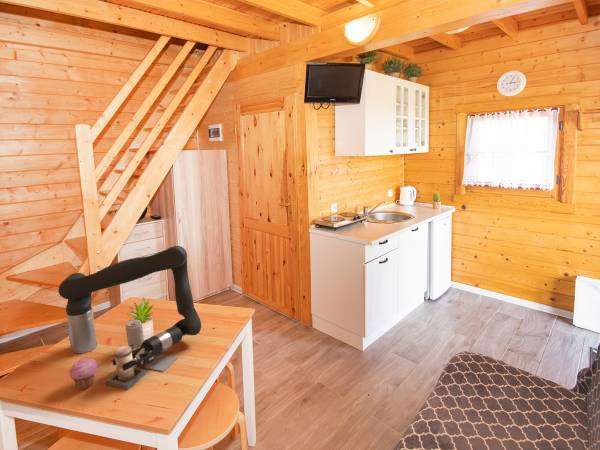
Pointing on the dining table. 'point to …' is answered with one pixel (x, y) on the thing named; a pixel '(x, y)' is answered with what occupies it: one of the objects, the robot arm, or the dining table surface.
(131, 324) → the beverage can
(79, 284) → the robot arm
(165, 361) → the mat
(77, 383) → the cupcake
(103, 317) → the dining table surface
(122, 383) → the socket collar
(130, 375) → the beige tall cylinder
